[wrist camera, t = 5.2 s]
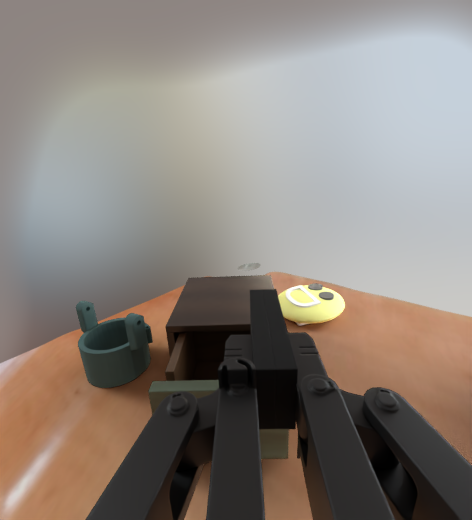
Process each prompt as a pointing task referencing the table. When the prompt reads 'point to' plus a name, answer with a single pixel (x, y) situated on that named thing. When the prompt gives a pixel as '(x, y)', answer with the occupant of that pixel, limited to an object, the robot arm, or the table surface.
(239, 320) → the case
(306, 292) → the emoji
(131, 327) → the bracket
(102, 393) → the table surface
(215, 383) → the case drawer
